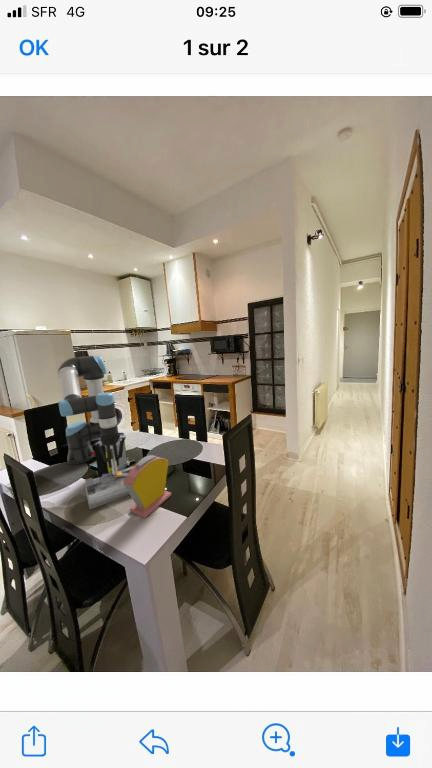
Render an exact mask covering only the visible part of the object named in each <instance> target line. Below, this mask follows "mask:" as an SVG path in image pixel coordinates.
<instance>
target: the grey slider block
mask: <svg viewBox="0 0 432 768" xmlns="http://www.w3.org/2000/svg"><path fill="white" fill-rule="evenodd" d="M93 479H94V478H93V477H89V478H86V479H85V480H84V481H85V482H86V483H85V486H86V487H87V492H91V491H94V490H95V486H96V485H99V484H101V480H100V478H99V479H96V480H93Z"/></svg>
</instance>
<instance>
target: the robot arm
mask: <svg viewBox="0 0 432 768" xmlns="http://www.w3.org/2000/svg"><path fill="white" fill-rule="evenodd" d="M105 375H107V368H106V365H105V362H104V358H103V357H102V356H101V355H88V356H77V357H70V358H68V359H65V360H64V361H63V362H62V363H61V364H60V366H59V368H58V370H57V376H58V378H59V380H60V383H61V390H62V400H59V402H58V408H59V413H60V416H61V417H73V416H75V415H76V416H77V415H81V414H82V415H83V414H85V413H91V417H90V419H89V422H86V421H85V420H82V421H76V422H73V423H72V424H69V425H68V426H66V428H65V437H66V441H67V446H68V447H67V448H68V453H67V459H66V461H67V464H69V463H70V464H69V465H73V464H74V465H78V464H77V463H81V464H84V463H86V462H89V461H90V460H92V459H94V457H95V456H94V455H93V454H92V452H94V451H93V448H92V446H91V444H90V442H92V441H96V442H95V443H96V446H97V447H98V448H99V450H100V452H101V455H102V457H103V459H104V462H108V464H109V468H112V473H113V475H114V474H115V472H116V474H117V473H118V471H117V466H119V458H121V457H122V454H123V443H124V441H125V440H126V439H125V437H124V436H120V435H119V433H120V432H119V429H118V420H117V414H116V404H115V397H114V394H113V392H109V391H108V392H104V386H103V385H104V384H103V379H104V378H105ZM81 377H82V379H83V381H85V382H86V386H87V387H86V388H87V392H88V396H84V397H83V396H81V391H80V386H79V382H78V381H79V380H78V378H81ZM118 439H119V440H120V445H119V455H118V453H117V447H116V443H117V441H118ZM97 440H98V441H99V442H98V441H97ZM101 443H104V444H105V445H106V447H107V458H106V456H105V454H104V451H103V449H102V447H101V446H102V444H101ZM111 445H113V450H114V455H115V459H113V460H114V464H113V460H111V452H110V446H111ZM114 467H115V472H114Z"/></svg>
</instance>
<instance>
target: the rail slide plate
mask: <svg viewBox="0 0 432 768" xmlns="http://www.w3.org/2000/svg"><path fill="white" fill-rule="evenodd" d="M134 466H135V465H133V466H130V467H126V468H124V469H123V470H120V471H121V472H122V473H129V472H130V471H131V469H132V468H133V467H134ZM111 474H113V473H111ZM99 478H100V480H101V484H99V485H96V486H95V490H94V491H91V492H87V487H86V485H85V486H84V489H85V495H86V499H87V503H88V508H89V510H92V509H95V508H97V507H100V506H103V505H106V504H109V503H111V502H114V501H116V500H119V499H122V498H124V497H128V496H129V495H130V494H129V492H128V490H127V489H126V487H125V485H124V480H125V478H110V479H103V477H102V476H101V477H99V476H98V477H96V478H93V480H96V479H99ZM85 484H86V481H85ZM130 496H131V495H130Z"/></svg>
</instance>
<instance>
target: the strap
mask: <svg viewBox="0 0 432 768" xmlns="http://www.w3.org/2000/svg"><path fill="white" fill-rule="evenodd" d="M114 472H115V471H114ZM127 475H128V473H122V472H121V471H118V473H117V474H116V472H115V474H114V475H113V474H103V475H102V477H103V479H110V478H126V477H127Z"/></svg>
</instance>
